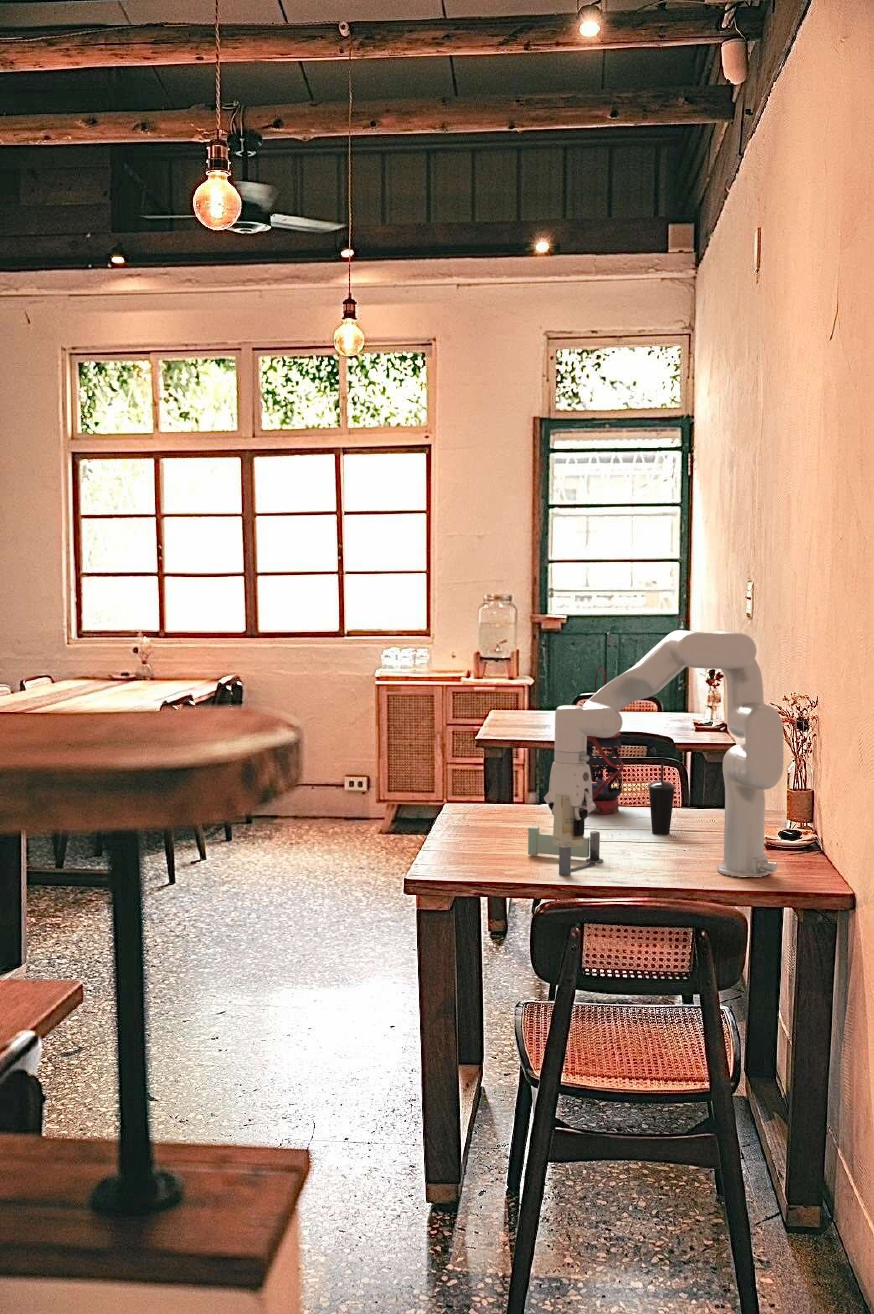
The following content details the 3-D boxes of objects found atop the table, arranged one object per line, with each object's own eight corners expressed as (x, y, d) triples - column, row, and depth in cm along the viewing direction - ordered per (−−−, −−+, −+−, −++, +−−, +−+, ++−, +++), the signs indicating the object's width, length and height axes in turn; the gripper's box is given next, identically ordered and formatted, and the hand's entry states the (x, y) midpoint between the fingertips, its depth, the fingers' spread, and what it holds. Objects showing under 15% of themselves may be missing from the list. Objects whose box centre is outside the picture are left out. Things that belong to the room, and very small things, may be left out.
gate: (589, 857, 310) (589, 830, 310) (587, 860, 308) (587, 832, 308) (530, 852, 316) (531, 826, 315) (528, 854, 314) (528, 827, 313)
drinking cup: (674, 837, 338) (676, 765, 336) (646, 835, 339) (648, 764, 338) (674, 831, 345) (676, 761, 344) (647, 830, 347) (648, 760, 345)
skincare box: (562, 848, 285) (563, 797, 284) (552, 844, 289) (553, 793, 288) (584, 846, 288) (586, 795, 287) (574, 842, 292) (575, 791, 291)
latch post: (601, 866, 303) (601, 839, 303) (565, 876, 294) (565, 847, 293) (592, 864, 305) (592, 837, 305) (556, 874, 296) (556, 845, 295)
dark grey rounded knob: (606, 861, 309) (607, 832, 308) (595, 864, 306) (596, 835, 305) (593, 858, 312) (593, 829, 311) (582, 861, 309) (582, 832, 308)
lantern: (583, 804, 384) (585, 662, 381) (628, 808, 378) (631, 664, 375) (569, 813, 369) (571, 666, 366) (616, 817, 364) (618, 668, 361)
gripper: (609, 760, 284) (607, 837, 285) (552, 752, 296) (551, 825, 297) (588, 763, 278) (587, 842, 280) (532, 755, 291) (531, 830, 292)
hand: (568, 832), depth 288 cm, fingers closed on skincare box, 5 cm apart
